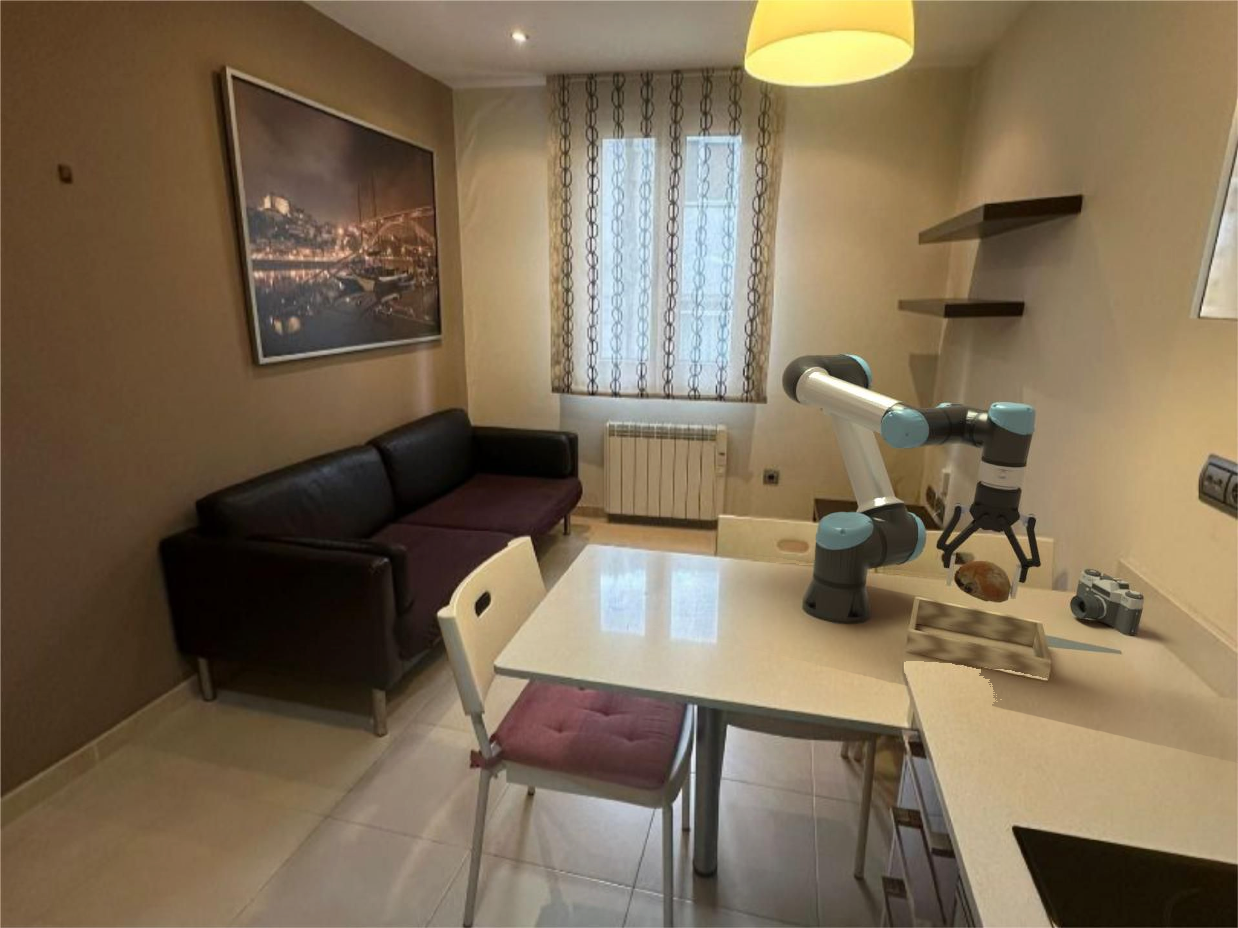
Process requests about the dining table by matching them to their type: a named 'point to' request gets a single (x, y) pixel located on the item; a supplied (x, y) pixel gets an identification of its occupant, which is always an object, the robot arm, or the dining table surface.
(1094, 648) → the mat
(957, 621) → the crate
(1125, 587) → the camera
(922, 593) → the dining table surface
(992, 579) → the bread roll
